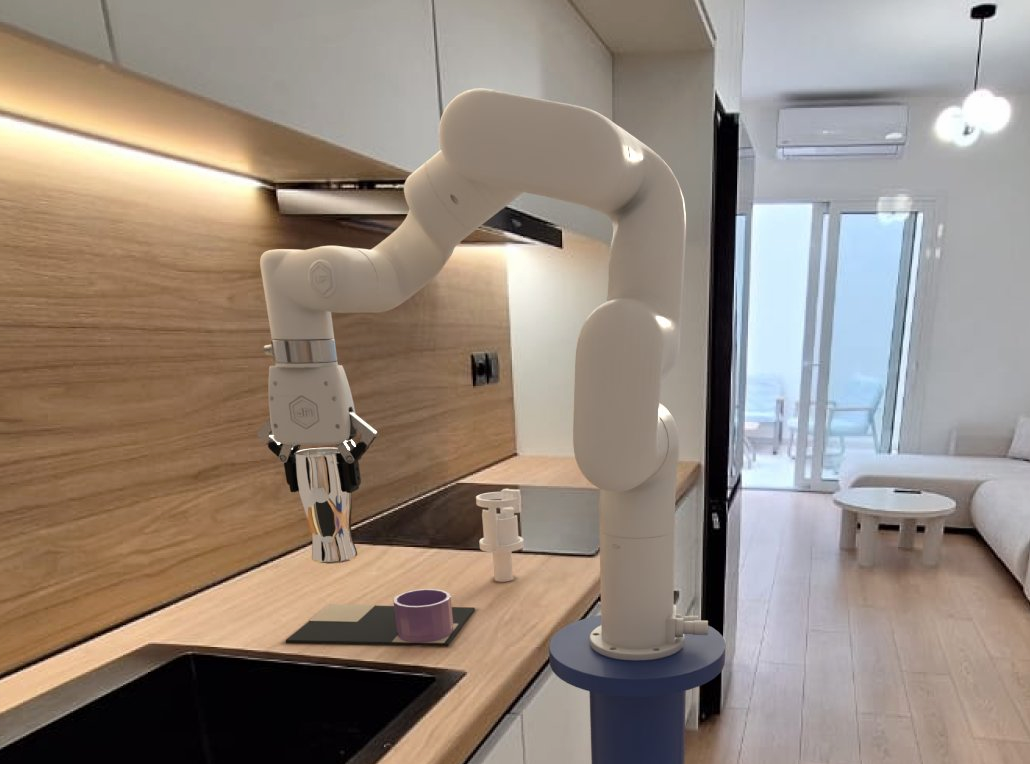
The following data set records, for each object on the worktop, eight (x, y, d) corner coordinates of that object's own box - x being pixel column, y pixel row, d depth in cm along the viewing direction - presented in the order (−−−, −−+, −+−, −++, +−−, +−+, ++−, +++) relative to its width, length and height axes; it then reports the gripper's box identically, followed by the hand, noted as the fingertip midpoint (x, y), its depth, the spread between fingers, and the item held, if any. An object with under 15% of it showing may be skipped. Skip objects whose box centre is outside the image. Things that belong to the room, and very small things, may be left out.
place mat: (474, 609, 120) (474, 606, 120) (448, 646, 107) (447, 642, 107) (330, 607, 121) (329, 604, 121) (285, 642, 108) (285, 639, 108)
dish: (459, 623, 114) (456, 589, 112) (444, 643, 107) (441, 607, 105) (408, 622, 114) (404, 588, 112) (389, 642, 107) (385, 606, 105)
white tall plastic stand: (517, 586, 130) (512, 494, 125) (476, 584, 131) (468, 492, 126) (530, 573, 137) (525, 485, 131) (490, 571, 138) (484, 484, 132)
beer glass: (357, 549, 119) (343, 445, 114) (364, 561, 113) (349, 453, 108) (307, 554, 116) (290, 449, 111) (310, 567, 110) (293, 457, 105)
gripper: (224, 355, 102) (249, 495, 108) (360, 356, 101) (377, 497, 107) (255, 353, 109) (276, 484, 115) (382, 353, 108) (396, 485, 114)
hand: (325, 489), depth 111 cm, fingers closed on beer glass, 7 cm apart
